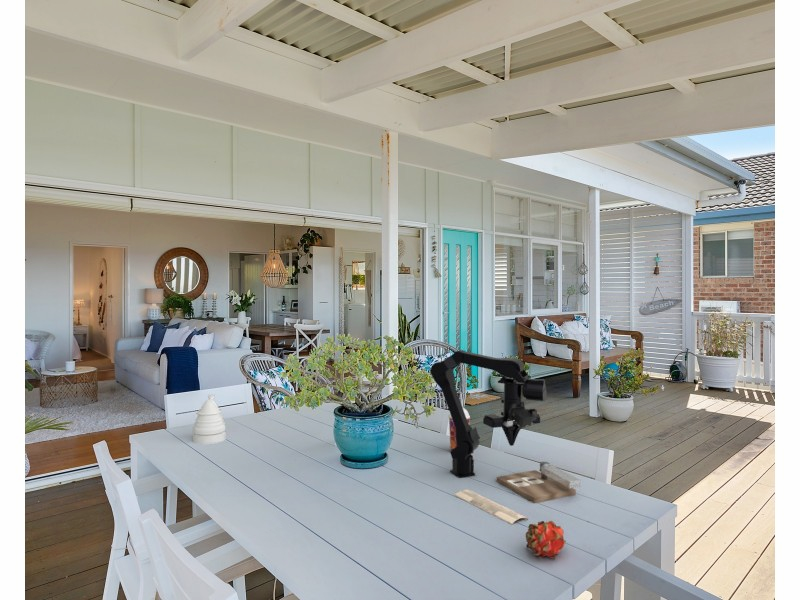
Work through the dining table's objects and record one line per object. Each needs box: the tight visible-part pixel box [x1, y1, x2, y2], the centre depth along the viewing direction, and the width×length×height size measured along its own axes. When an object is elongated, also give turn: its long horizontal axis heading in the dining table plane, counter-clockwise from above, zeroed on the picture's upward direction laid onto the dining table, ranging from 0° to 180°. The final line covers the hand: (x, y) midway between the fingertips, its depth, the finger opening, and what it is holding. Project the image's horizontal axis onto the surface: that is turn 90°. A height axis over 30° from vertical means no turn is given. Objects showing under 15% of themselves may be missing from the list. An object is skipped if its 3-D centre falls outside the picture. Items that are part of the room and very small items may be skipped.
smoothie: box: [448, 406, 471, 451], centre depth 202 cm, size 8×8×20 cm
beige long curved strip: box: [454, 489, 529, 526], centre depth 150 cm, size 24×7×2 cm, turn 34°
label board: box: [496, 469, 577, 504], centre depth 165 cm, size 16×19×4 cm
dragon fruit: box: [525, 520, 566, 560], centre depth 124 cm, size 8×8×12 cm
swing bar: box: [539, 461, 581, 489], centre depth 163 cm, size 16×4×2 cm, turn 20°
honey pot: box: [192, 394, 227, 445], centre depth 216 cm, size 13×13×18 cm
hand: (511, 445), depth 170 cm, fingers closed
